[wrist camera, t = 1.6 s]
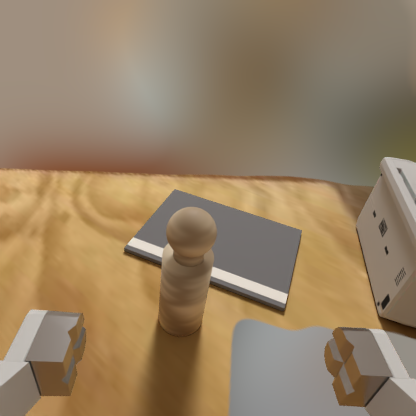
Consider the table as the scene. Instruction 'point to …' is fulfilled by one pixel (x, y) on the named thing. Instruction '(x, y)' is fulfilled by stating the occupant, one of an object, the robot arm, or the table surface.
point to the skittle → (186, 270)
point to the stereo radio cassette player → (392, 240)
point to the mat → (231, 248)
